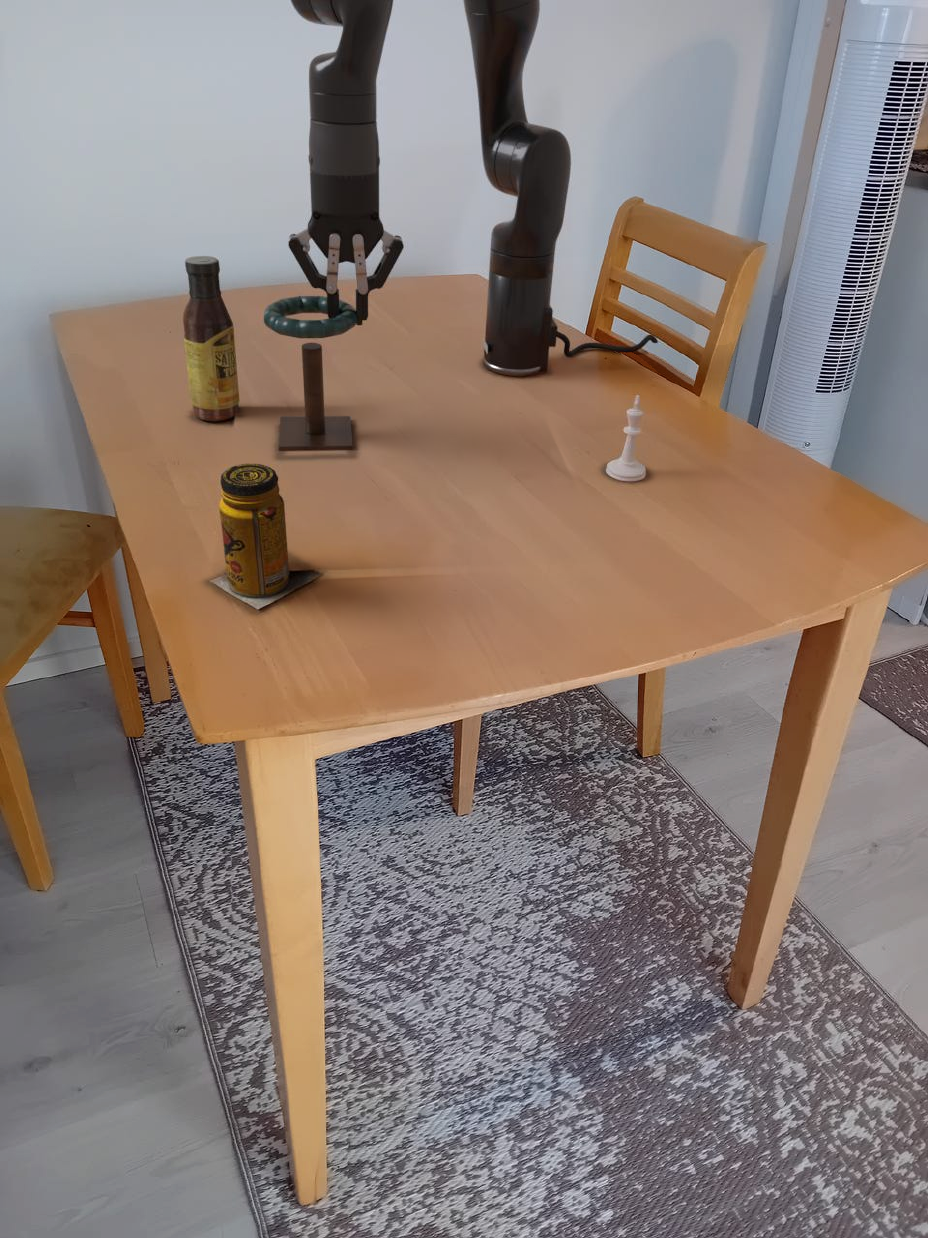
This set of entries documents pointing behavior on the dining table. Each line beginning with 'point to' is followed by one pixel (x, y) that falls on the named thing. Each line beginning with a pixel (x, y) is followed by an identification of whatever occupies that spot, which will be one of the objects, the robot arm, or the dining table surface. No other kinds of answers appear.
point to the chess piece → (629, 450)
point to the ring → (308, 328)
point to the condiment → (256, 537)
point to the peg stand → (314, 413)
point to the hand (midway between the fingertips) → (347, 322)
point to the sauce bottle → (209, 344)
